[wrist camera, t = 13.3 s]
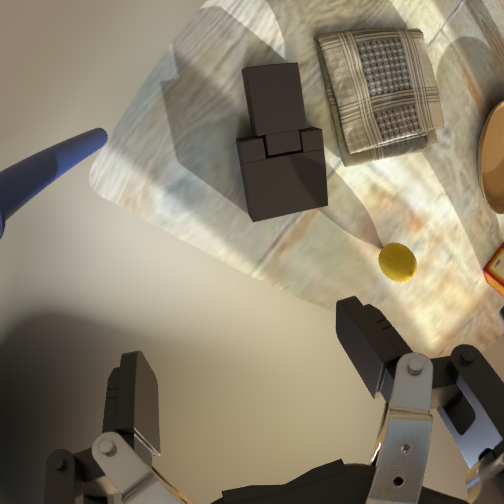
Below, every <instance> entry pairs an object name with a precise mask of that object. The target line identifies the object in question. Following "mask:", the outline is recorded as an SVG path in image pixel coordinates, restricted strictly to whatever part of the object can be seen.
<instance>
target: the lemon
mask: <svg viewBox="0 0 504 504" xmlns="http://www.w3.org/2000/svg"><path fill="white" fill-rule="evenodd" d="M379 265H380V268H381V270H382V271H383V273H384V274H385V275H386V276H387V277H388V278H390V279H392V280H394V281H396V282H406V281H408V280H410V279H411V278H412V277H413V276H414V274H415V272H416V269H417V261H416V258H415V256H414V254H413V253H412V252H411V251H410V250H409V249H408V248H407V247H406V246H404V245H402V244H400V243H390V244H388V245H386V246H385V247H384V248H383V249H382V250H381V252H380V254H379Z"/></svg>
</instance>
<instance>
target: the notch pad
mask: <svg viewBox="0 0 504 504" xmlns="http://www.w3.org/2000/svg"><path fill="white" fill-rule="evenodd" d="M299 136H300V144H301V150H296V151H290V152H285V153H279V154H273V155H268V154H265V150H264V143H263V138H261V137H259V136H252V137H246V138H241V139H236V144H237V150H238V155H239V159H240V160H239V161H240V166H241V172H242V178H243V183H244V189H245V195H246V201H247V206H248V212H249V216H250V218H251V219H252V221H253V222H257V221H261V220H266V219H270V218H274V217H279V216H283V215H288V214H292V213H297V212H301V211H306V210H310V209H315V208H319V207H324V206H328V196H327V181H326V168H325V156H324V145H323V134H322V129H319V128H316V127H309V128H304V129H299Z"/></svg>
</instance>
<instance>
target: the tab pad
mask: <svg viewBox="0 0 504 504" xmlns="http://www.w3.org/2000/svg"><path fill="white" fill-rule="evenodd" d="M242 75H243V81H244V87H245V92H246V98H247V104H248V110H249V116H250V122H251V129H252V133H253V134H255V135H257V136H259V135H261V138H263V143H264V150H265V153H266V154H268V155H273V154H279V153H285V152H290V151H296V150H301V144H300V136H299V129H304V128H306V119H305V111H304V103H303V96H302V89H301V82H300V75H299V68H298V63H284V64H273V65H263V66H255V67H247V68H244V69H242Z"/></svg>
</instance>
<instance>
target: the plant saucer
mask: <svg viewBox="0 0 504 504" xmlns="http://www.w3.org/2000/svg"><path fill="white" fill-rule="evenodd" d="M477 165H478V178H479V183H480V187H481V191H482V194H483V196H484V199H485V201H486V202H487V204H488V206H489V207H490V208H491V209H492V210H493V211H494V212H495V213H497V214H504V100H503V101H501V102H500V103H498V104H497V105H496V106H495V107H494V108H493V109H492V111H491V112H490V114H489V115H488V117H487V119H486V121H485V124H484V126H483V129H482V132H481V136H480V141H479V147H478V162H477Z"/></svg>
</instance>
